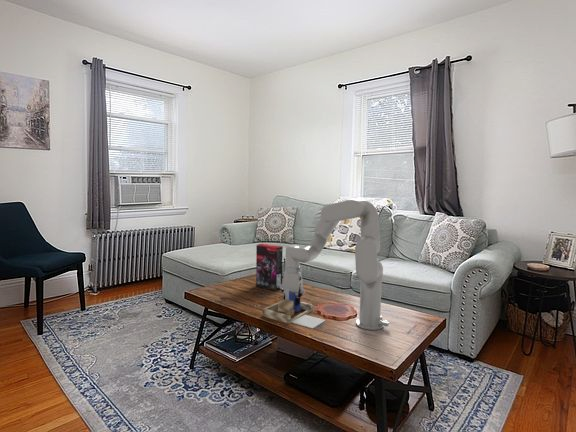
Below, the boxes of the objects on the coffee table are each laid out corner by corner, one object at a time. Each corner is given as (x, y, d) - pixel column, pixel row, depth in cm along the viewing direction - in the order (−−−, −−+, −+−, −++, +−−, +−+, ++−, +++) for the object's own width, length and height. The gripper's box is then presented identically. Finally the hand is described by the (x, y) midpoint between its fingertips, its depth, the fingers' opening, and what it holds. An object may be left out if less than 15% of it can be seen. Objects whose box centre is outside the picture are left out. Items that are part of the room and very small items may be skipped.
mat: (325, 320, 168) (325, 320, 168) (312, 328, 158) (312, 328, 158) (304, 315, 175) (304, 314, 175) (291, 322, 165) (291, 321, 165)
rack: (312, 311, 181) (312, 304, 181) (289, 323, 164) (289, 316, 164) (287, 304, 190) (287, 298, 190) (262, 316, 173) (262, 309, 173)
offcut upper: (293, 308, 173) (293, 301, 173) (288, 312, 168) (288, 304, 167) (283, 307, 176) (283, 299, 175) (277, 311, 170) (278, 303, 170)
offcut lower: (294, 317, 173) (294, 309, 172) (287, 321, 168) (287, 313, 167) (284, 314, 176) (284, 307, 176) (277, 318, 171) (277, 310, 171)
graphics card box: (255, 286, 224) (255, 244, 222) (262, 284, 230) (262, 243, 228) (276, 291, 215) (276, 247, 212) (282, 288, 220) (283, 246, 218)
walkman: (300, 310, 182) (300, 287, 181) (300, 311, 179) (300, 289, 179) (285, 309, 183) (285, 287, 182) (284, 311, 180) (285, 288, 179)
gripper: (310, 270, 178) (309, 305, 179) (283, 265, 187) (282, 298, 189) (302, 273, 171) (301, 309, 173) (274, 268, 181) (274, 301, 183)
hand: (291, 303), depth 181 cm, fingers closed on walkman, 6 cm apart
